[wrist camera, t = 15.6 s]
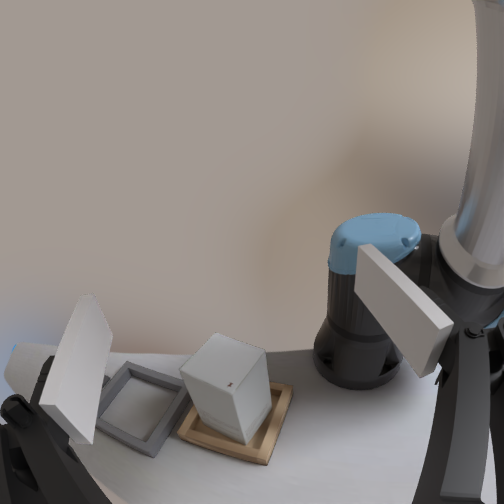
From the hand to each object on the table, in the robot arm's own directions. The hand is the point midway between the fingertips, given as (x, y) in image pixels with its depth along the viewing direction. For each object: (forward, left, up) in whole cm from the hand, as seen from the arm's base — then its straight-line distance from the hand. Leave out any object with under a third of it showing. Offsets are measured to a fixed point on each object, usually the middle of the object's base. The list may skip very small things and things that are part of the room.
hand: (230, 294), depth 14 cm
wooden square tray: (-9, -7, -30) cm, 32 cm away
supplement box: (-9, -7, -30) cm, 32 cm away
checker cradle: (-5, -22, -30) cm, 38 cm away
